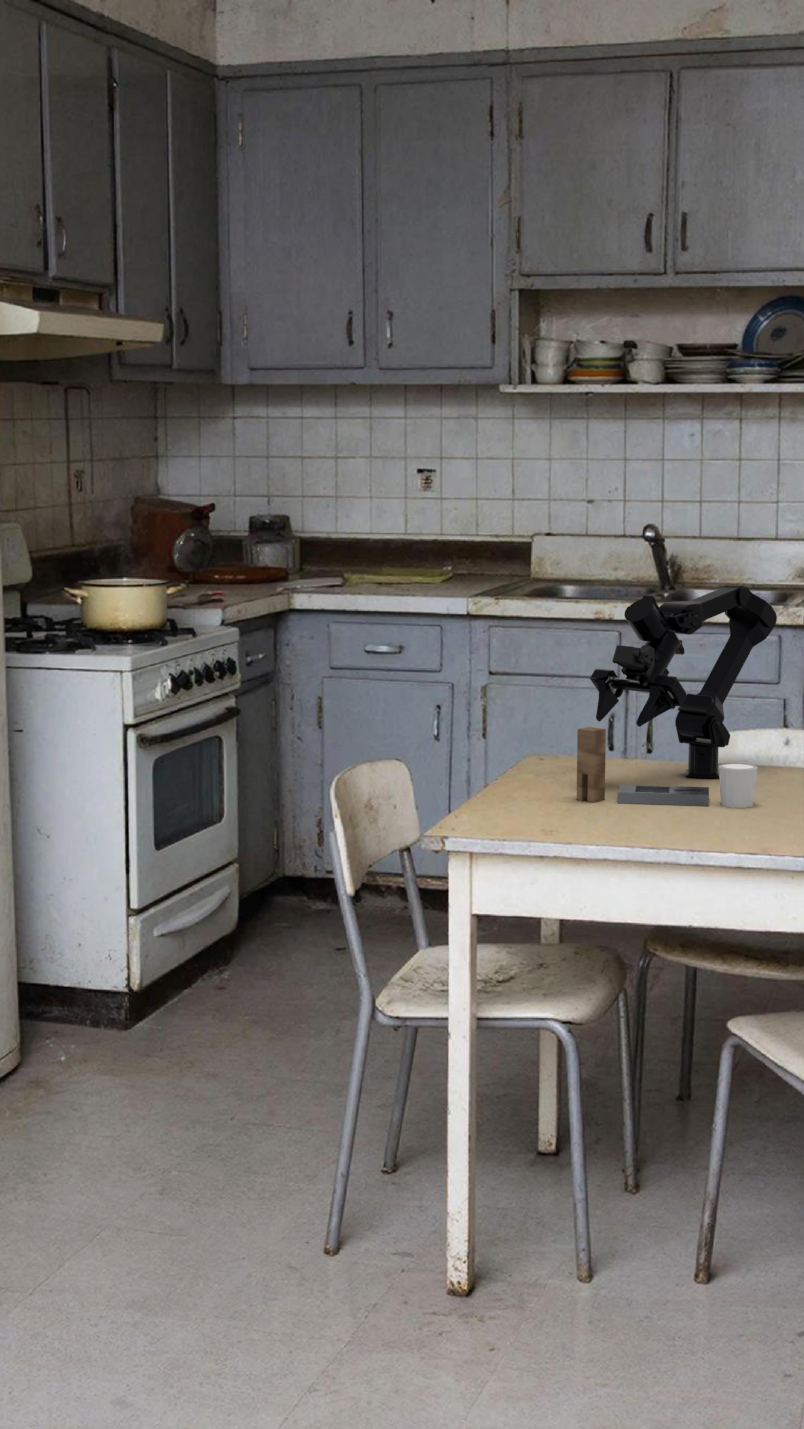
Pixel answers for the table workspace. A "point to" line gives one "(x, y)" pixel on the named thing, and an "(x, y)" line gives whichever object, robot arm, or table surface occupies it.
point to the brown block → (591, 764)
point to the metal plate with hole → (663, 795)
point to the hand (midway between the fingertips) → (617, 722)
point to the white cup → (737, 784)
